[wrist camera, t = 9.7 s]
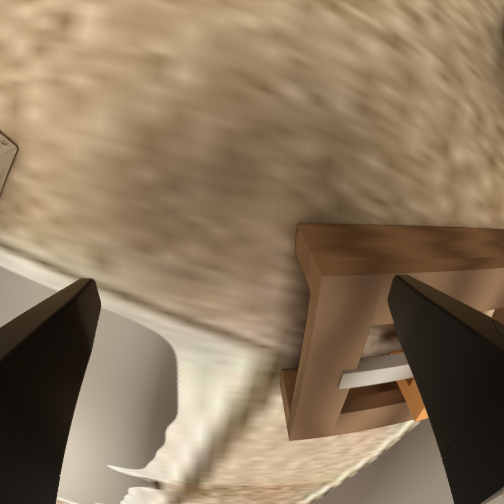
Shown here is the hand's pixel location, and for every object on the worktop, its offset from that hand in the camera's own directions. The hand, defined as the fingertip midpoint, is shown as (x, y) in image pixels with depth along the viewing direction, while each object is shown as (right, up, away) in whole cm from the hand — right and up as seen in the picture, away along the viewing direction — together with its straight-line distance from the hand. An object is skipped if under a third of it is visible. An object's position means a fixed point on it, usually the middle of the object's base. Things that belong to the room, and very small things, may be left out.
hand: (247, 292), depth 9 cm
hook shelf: (+13, -4, +17) cm, 21 cm away
